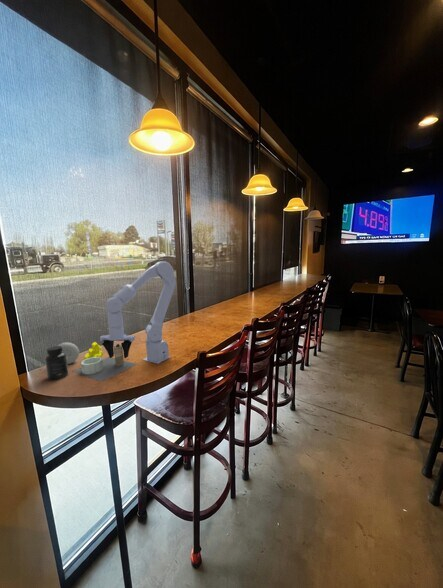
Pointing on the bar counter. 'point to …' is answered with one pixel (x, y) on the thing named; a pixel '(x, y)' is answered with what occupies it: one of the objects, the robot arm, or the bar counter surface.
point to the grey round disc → (71, 349)
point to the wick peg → (118, 355)
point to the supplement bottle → (56, 363)
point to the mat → (107, 369)
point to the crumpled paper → (94, 351)
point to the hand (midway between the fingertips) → (118, 357)
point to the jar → (92, 365)
